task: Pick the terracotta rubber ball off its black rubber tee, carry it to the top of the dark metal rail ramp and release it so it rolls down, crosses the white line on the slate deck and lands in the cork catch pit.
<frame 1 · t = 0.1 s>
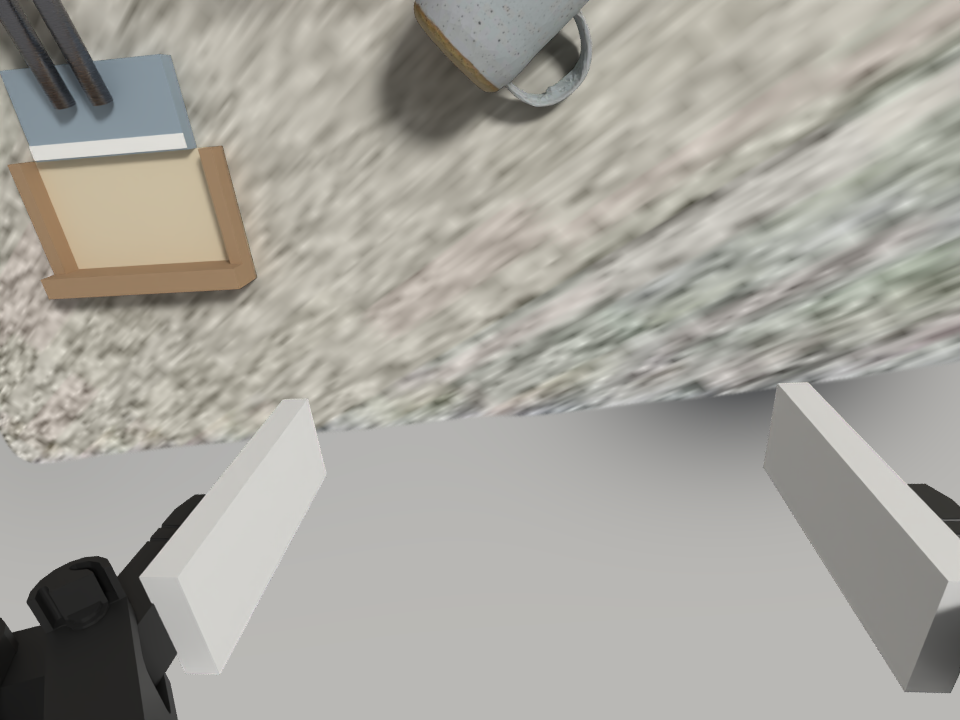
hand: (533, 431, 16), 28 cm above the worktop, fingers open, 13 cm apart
catch pit: (144, 221, 43), on the worktop
deck: (106, 110, 40), on the worktop
ceramic mug: (519, 20, 35), on the worktop
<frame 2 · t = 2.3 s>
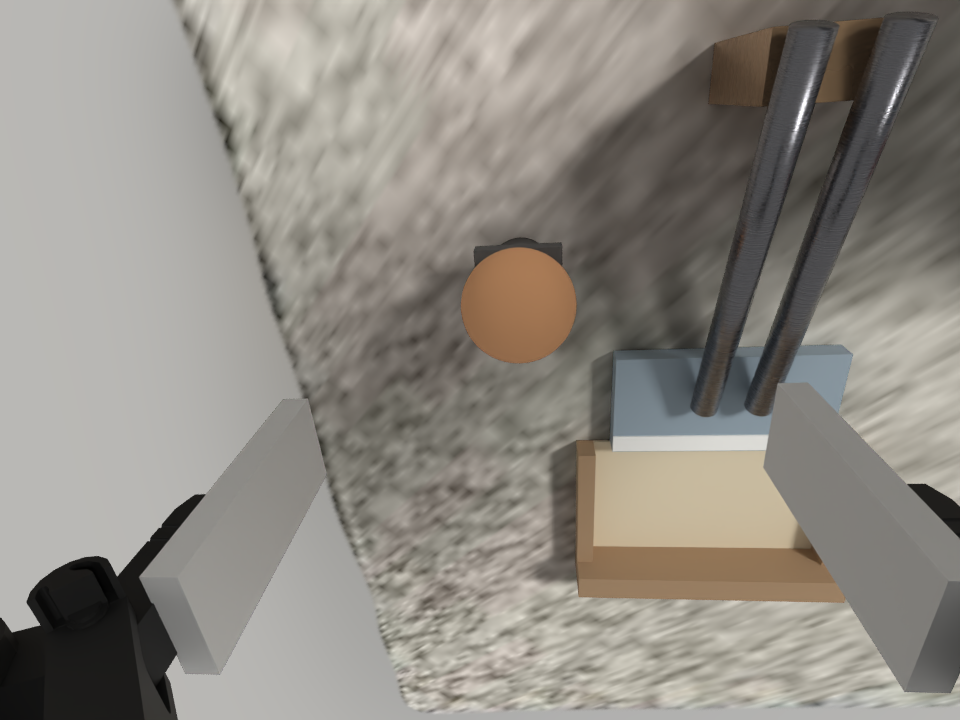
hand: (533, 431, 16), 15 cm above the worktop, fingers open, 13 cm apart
ball: (518, 305, 24), point 6 cm above the worktop, touching tee
catch pit: (703, 504, 35), on the worktop
ramp: (739, 238, 27), on the worktop
deck: (718, 395, 31), on the worktop
tee: (520, 267, 29), on the worktop
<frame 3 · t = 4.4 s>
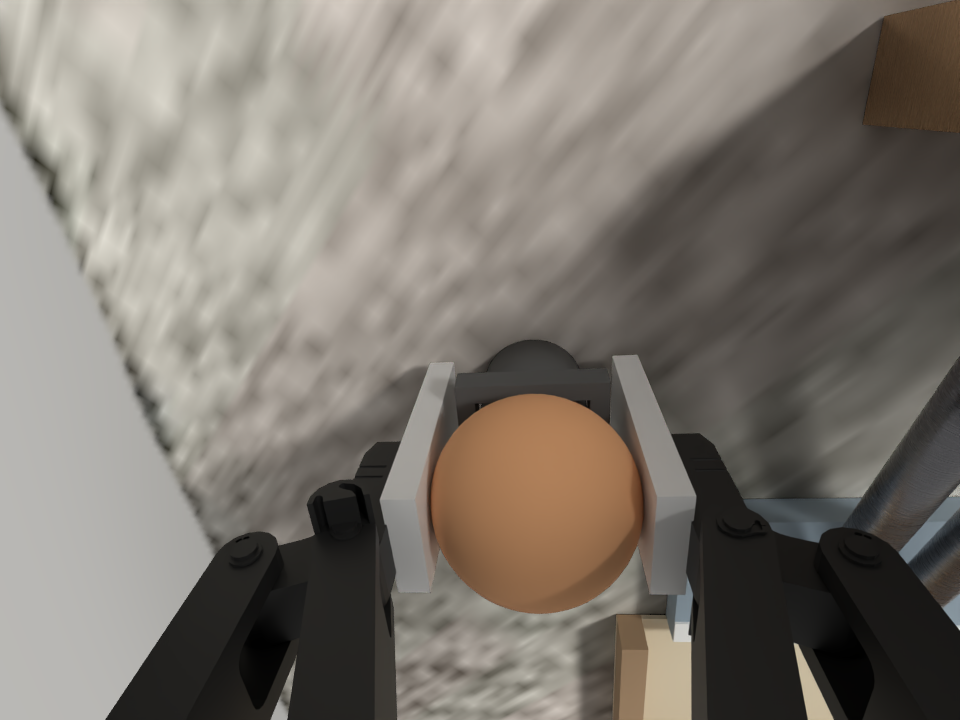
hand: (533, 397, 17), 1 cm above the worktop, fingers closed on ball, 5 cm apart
ball: (534, 498, 13), point 6 cm above the worktop, touching gripper, tee
catch pit: (799, 696, 24), on the worktop
ramp: (894, 342, 17), on the worktop
deck: (835, 561, 20), on the worktop
tee: (533, 383, 18), on the worktop
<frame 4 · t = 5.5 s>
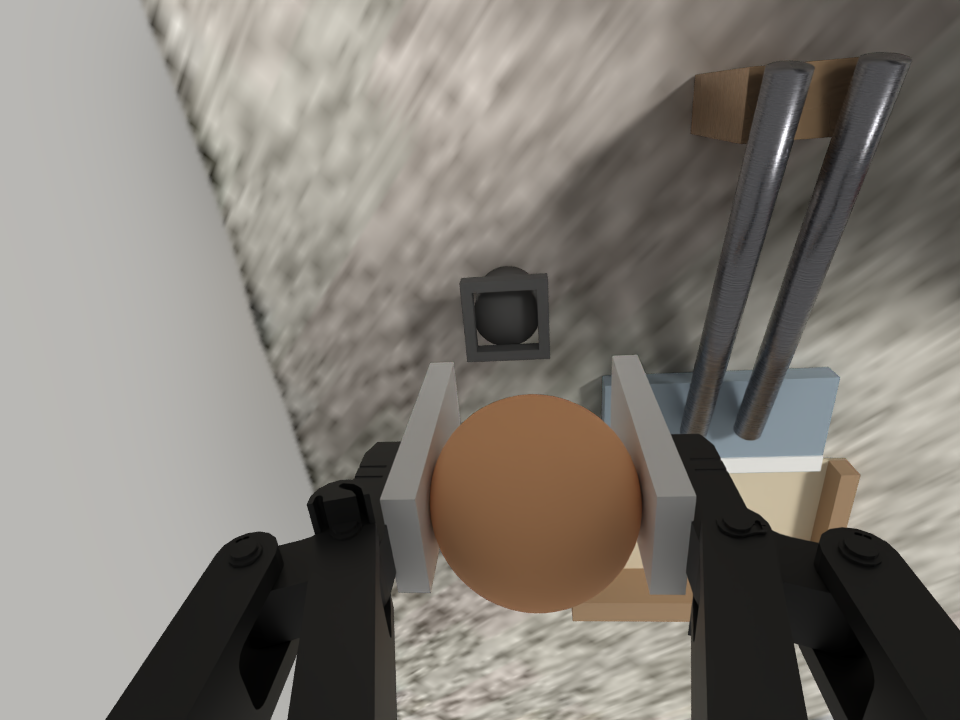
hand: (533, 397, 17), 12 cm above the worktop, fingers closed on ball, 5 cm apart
ball: (533, 498, 13), point 17 cm above the worktop, touching gripper
catch pit: (695, 526, 35), on the worktop
ramp: (725, 265, 27), on the worktop
deck: (707, 418, 31), on the worktop
tee: (508, 295, 29), on the worktop
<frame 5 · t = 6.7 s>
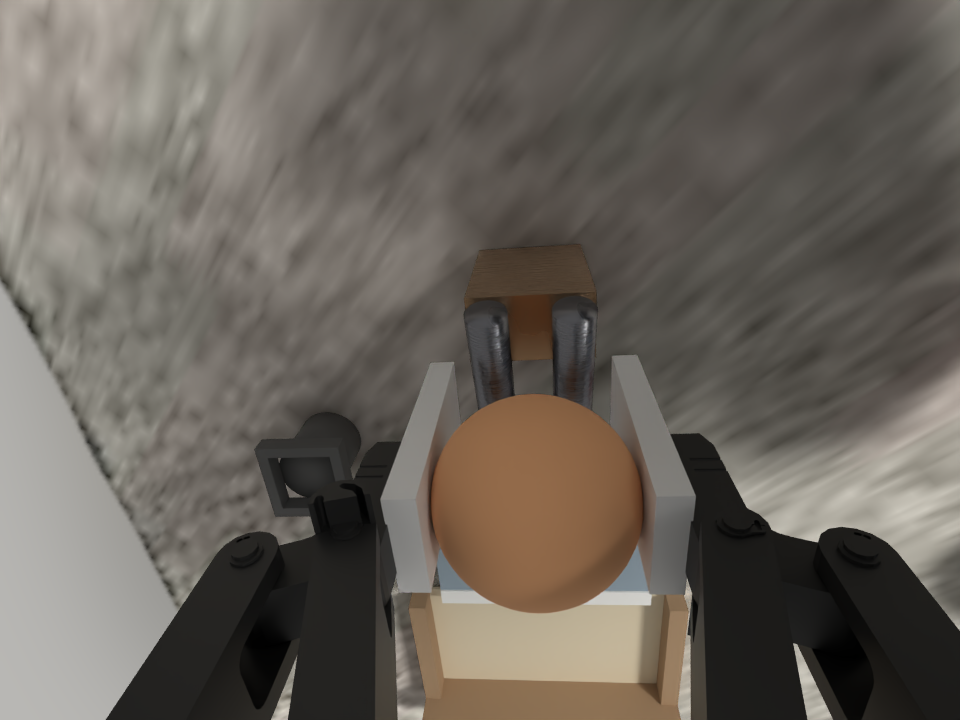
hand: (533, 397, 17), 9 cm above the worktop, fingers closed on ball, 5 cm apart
ball: (534, 498, 13), point 13 cm above the worktop, touching gripper
catch pit: (546, 643, 35), on the worktop
ramp: (536, 416, 28), on the worktop
deck: (542, 549, 31), on the worktop
tee: (331, 438, 29), on the worktop
when the fingers open (9 cm above the worktop, at t = 6.7 s): ball drops 11 cm and tips over, resting on catch pit.
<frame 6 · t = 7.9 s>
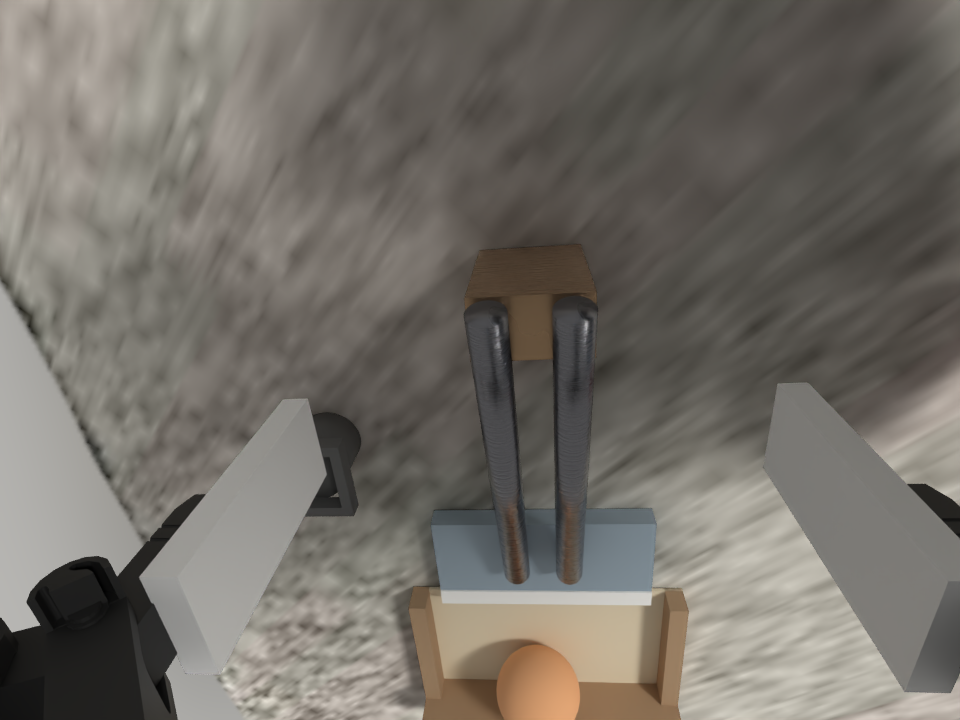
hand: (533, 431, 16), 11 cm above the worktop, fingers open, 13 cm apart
ball: (537, 691, 33), point 3 cm above the worktop, tilted 157°, touching catch pit
catch pit: (546, 643, 35), on the worktop
ramp: (536, 416, 28), on the worktop
deck: (542, 550, 31), on the worktop
tee: (331, 438, 29), on the worktop
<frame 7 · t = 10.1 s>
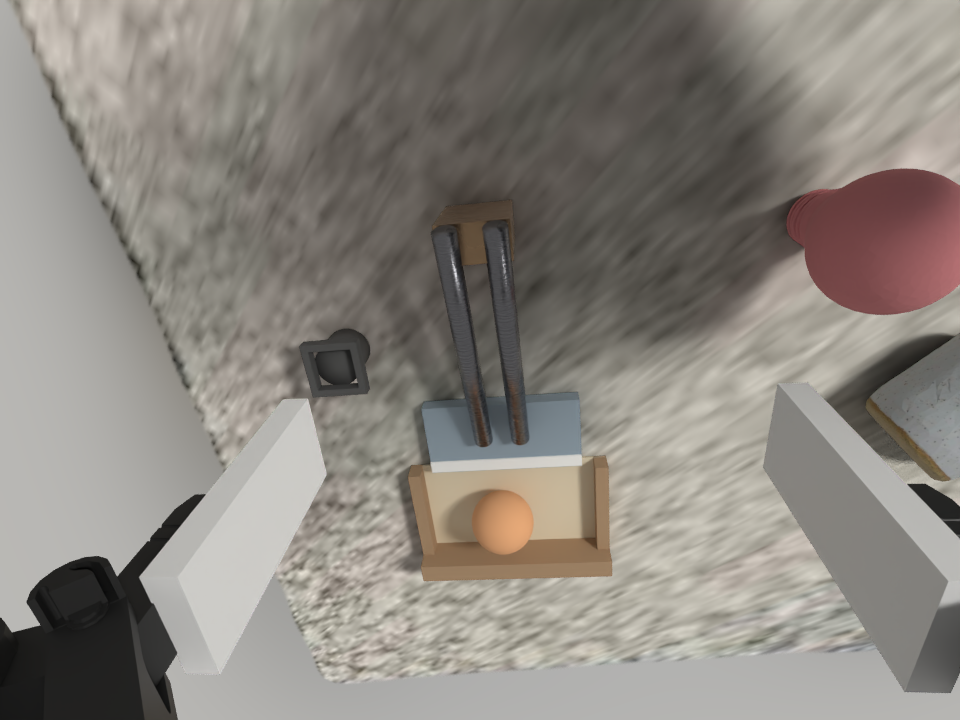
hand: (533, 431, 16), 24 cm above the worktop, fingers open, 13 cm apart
ball: (502, 521, 44), point 3 cm above the worktop, tilted 119°, touching catch pit
catch pit: (511, 508, 47), on the worktop
ramp: (491, 324, 40), on the worktop
light bulb: (806, 212, 35), on the worktop
deck: (503, 429, 44), on the worktop
tee: (349, 348, 41), on the worktop
ceramic mug: (932, 390, 40), on the worktop
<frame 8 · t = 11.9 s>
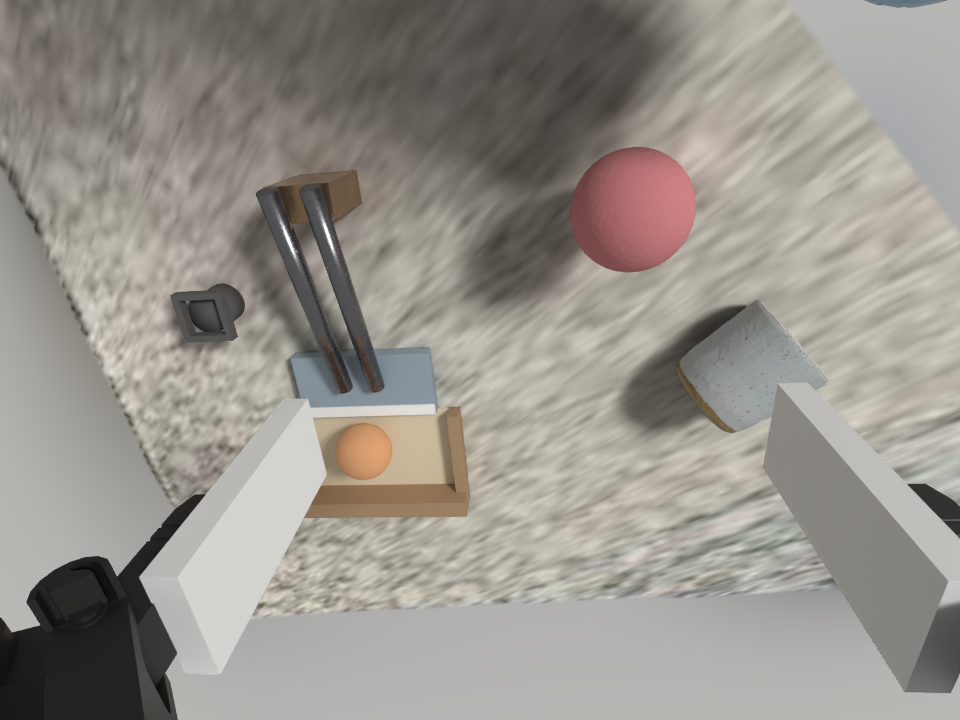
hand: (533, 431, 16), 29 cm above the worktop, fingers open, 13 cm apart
ball: (364, 451, 49), point 3 cm above the worktop, tilted 89°, touching catch pit
catch pit: (382, 454, 52), on the worktop
ramp: (349, 283, 45), on the worktop
light bulb: (611, 189, 40), on the worktop
deck: (367, 380, 49), on the worktop
tee: (226, 301, 46), on the worktop
ceramic mug: (742, 356, 45), on the worktop
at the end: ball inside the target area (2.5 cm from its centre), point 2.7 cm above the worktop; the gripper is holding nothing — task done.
